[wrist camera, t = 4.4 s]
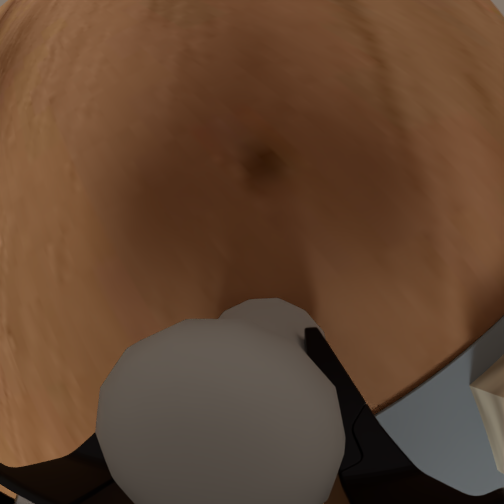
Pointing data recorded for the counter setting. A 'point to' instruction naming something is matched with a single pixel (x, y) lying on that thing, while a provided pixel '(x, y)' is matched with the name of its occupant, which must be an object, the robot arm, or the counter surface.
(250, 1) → the counter surface
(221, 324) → the salt shaker
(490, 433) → the beech block
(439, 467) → the mat
